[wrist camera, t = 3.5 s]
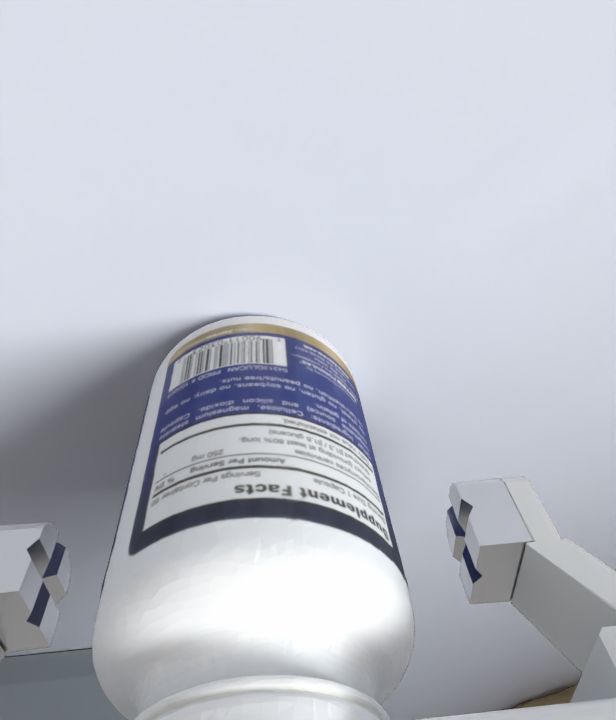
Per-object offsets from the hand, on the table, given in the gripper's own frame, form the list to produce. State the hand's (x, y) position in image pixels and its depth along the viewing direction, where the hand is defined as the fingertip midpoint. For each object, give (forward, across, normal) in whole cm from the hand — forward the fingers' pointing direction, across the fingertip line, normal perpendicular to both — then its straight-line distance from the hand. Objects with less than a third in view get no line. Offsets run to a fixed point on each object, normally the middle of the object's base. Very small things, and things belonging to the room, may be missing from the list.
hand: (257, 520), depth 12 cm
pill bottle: (+4, 0, 0) cm, 4 cm away
